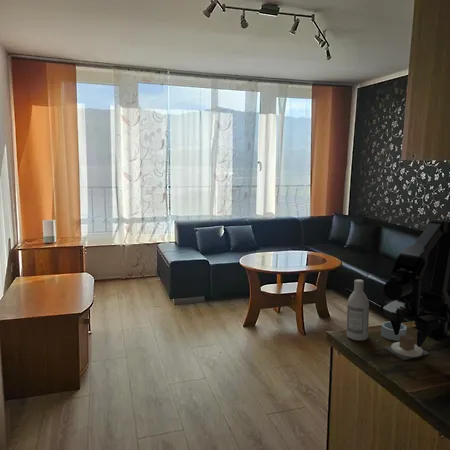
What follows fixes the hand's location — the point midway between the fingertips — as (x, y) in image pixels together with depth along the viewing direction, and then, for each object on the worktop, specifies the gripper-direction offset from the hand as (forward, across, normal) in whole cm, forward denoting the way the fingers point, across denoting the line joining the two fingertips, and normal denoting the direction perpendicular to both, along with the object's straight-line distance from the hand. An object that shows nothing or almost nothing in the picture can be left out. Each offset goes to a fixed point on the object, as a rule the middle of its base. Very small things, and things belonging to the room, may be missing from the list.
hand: (407, 340), depth 126 cm
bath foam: (+4, -15, -7) cm, 17 cm away
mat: (+4, 0, 0) cm, 4 cm away
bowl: (+4, -11, +5) cm, 13 cm away
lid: (+3, 0, 0) cm, 3 cm away
